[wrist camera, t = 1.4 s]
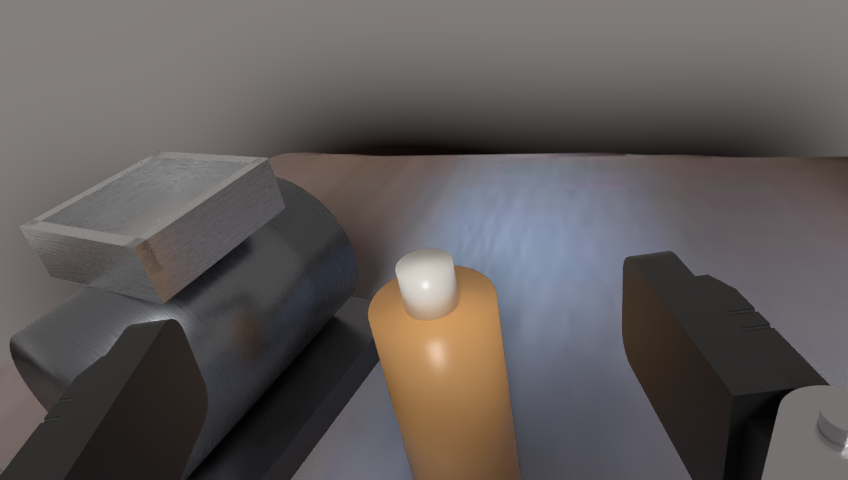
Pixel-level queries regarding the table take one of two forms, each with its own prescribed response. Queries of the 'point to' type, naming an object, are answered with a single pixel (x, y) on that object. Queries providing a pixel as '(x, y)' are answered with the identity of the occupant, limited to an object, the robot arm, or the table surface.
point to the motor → (210, 301)
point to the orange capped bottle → (446, 369)
